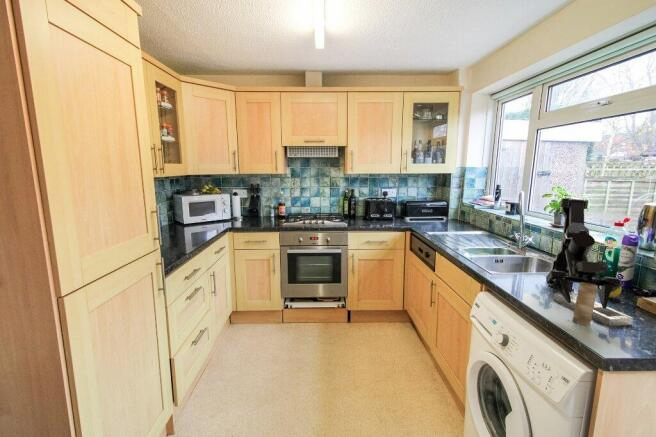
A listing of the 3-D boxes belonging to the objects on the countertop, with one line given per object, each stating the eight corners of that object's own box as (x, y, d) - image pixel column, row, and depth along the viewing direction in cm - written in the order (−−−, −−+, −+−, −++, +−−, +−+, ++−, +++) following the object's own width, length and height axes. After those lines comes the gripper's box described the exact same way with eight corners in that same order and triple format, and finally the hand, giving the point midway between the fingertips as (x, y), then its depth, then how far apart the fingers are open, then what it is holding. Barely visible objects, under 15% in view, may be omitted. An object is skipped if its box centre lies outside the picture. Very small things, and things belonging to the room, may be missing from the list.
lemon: (609, 294, 120) (613, 275, 119) (623, 300, 114) (627, 281, 113) (596, 294, 120) (600, 275, 118) (609, 300, 114) (613, 280, 113)
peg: (569, 319, 99) (576, 282, 96) (579, 318, 99) (587, 282, 97) (582, 326, 94) (590, 288, 92) (593, 325, 95) (601, 287, 93)
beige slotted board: (553, 299, 113) (554, 293, 113) (572, 298, 115) (573, 292, 115) (608, 326, 95) (610, 319, 94) (631, 324, 96) (632, 317, 96)
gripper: (554, 247, 99) (562, 290, 91) (624, 254, 93) (639, 301, 85) (542, 262, 108) (548, 303, 100) (606, 270, 102) (618, 314, 94)
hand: (587, 305), depth 94 cm, fingers open, 9 cm apart
